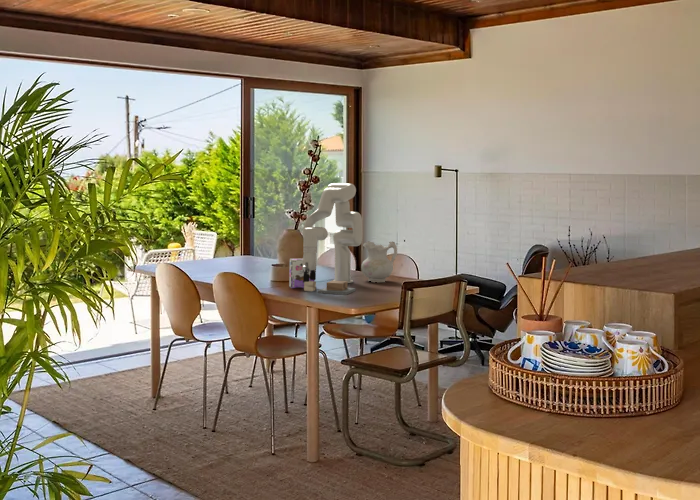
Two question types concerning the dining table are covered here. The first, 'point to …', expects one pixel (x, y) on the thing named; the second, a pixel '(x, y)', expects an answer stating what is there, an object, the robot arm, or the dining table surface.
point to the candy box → (296, 274)
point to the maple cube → (310, 286)
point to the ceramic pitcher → (378, 262)
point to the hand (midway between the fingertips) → (309, 280)
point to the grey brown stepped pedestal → (337, 288)
